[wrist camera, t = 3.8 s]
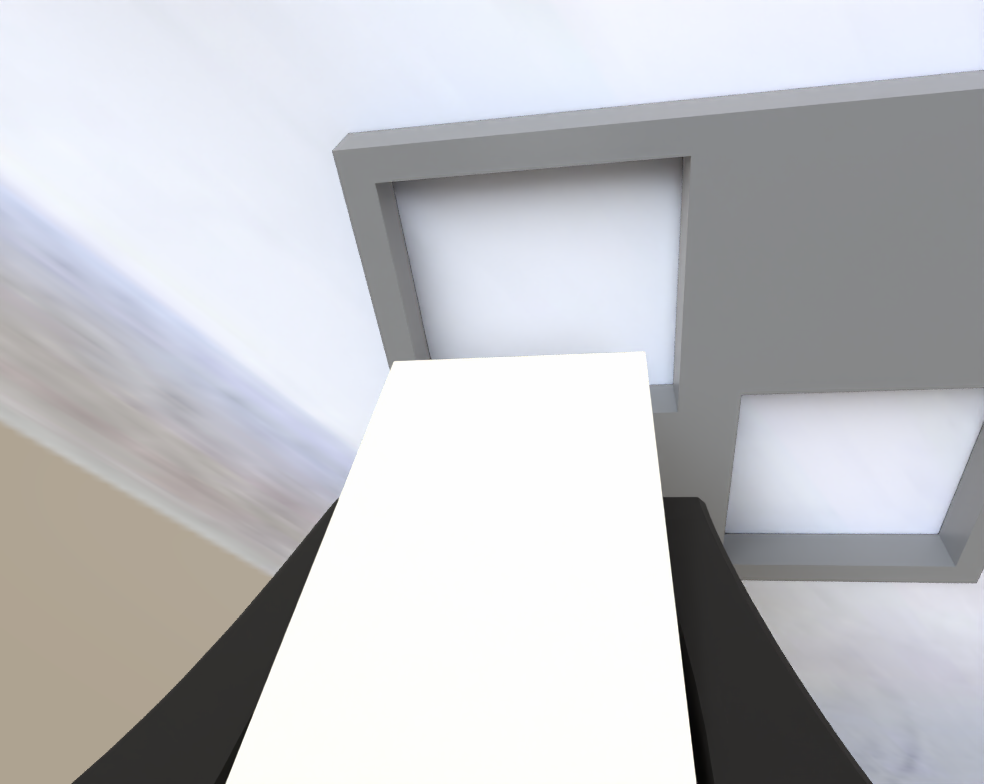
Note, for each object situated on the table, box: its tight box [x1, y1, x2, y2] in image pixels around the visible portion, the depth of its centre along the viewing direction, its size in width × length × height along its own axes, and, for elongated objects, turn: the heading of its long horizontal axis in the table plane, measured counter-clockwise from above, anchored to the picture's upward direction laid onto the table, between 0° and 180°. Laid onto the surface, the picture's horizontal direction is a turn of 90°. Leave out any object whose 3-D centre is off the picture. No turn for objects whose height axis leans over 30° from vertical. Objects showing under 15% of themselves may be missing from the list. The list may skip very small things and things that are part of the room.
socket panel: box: [332, 70, 984, 583], centre depth 17 cm, size 16×14×1 cm
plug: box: [226, 352, 696, 784], centre depth 9 cm, size 4×4×8 cm
